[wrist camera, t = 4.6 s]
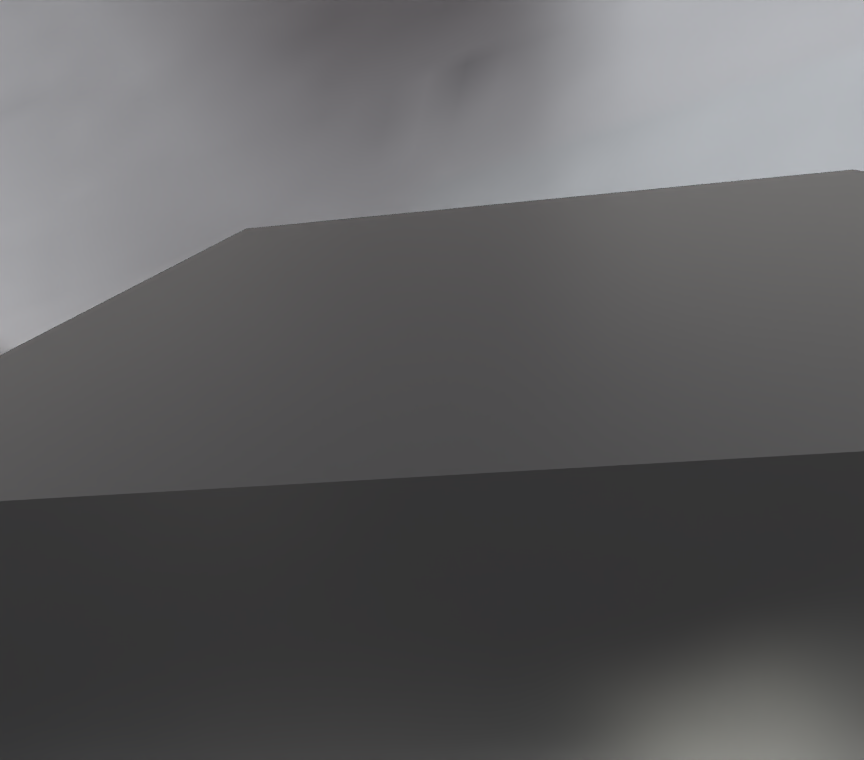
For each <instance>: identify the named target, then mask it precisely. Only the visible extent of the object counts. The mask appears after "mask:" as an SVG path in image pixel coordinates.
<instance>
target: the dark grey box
mask: <svg viewBox="0 0 864 760" xmlns="http://www.w3.org/2000/svg"><path fill="white" fill-rule="evenodd" d="M0 760H864V171H858V170H844V171H834V172H824V173H813V174H803V175H793V176H783V177H772V178H762V179H752V180H741V181H731V182H721V183H711V184H700V185H690V186H680V187H669V188H659V189H649V190H639V191H628V192H618V193H608V194H597V195H587V196H577V197H566V198H556V199H546V200H536V201H525V202H515V203H505V204H494V205H484V206H474V207H464V208H453V209H443V210H433V211H422V212H412V213H402V214H392V215H381V216H371V217H361V218H350V219H340V220H330V221H320V222H309V223H299V224H289V225H278V226H268V227H258V228H248V229H244V230H242V231H241V232H239V233H237V234H235V235H233V236H231V237H229V238H227V239H225V240H223V241H221V242H219V243H217V244H215V245H213V246H211V247H209V248H208V249H206V250H204V251H202V252H200V253H198V254H196V255H194V256H192V257H190V258H188V259H186V260H184V261H182V262H180V263H178V264H176V265H175V266H173V267H171V268H169V269H167V270H165V271H163V272H161V273H159V274H157V275H155V276H153V277H151V278H149V279H147V280H145V281H143V282H142V283H140V284H138V285H136V286H134V287H132V288H130V289H128V290H126V291H124V292H122V293H120V294H118V295H116V296H114V297H112V298H110V299H109V300H107V301H105V302H103V303H101V304H99V305H97V306H95V307H93V308H91V309H89V310H87V311H85V312H83V313H81V314H79V315H77V316H76V317H74V318H72V319H70V320H68V321H66V322H64V323H62V324H60V325H58V326H56V327H54V328H52V329H50V330H48V331H46V332H44V333H43V334H41V335H39V336H37V337H35V338H33V339H31V340H29V341H27V342H25V343H23V344H21V345H19V346H17V347H15V348H13V349H11V350H10V351H8V352H6V353H4V354H2V355H0Z"/></svg>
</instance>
